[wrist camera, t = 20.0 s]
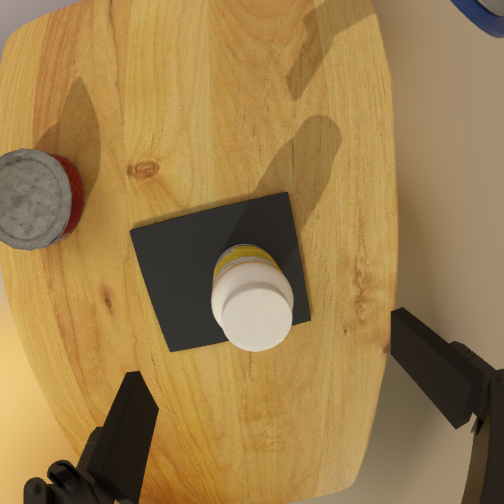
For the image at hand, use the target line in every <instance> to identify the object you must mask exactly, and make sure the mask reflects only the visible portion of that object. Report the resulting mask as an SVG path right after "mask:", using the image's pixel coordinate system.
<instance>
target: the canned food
mask: <svg viewBox="0 0 504 504" xmlns="http://www.w3.org/2000/svg"><path fill="white" fill-rule="evenodd" d="M83 206H84V188H83V183H82V180H81V176H80V174H79V172H78V170H77V169H76V167H75V166H74V165H73V164H72V162H70V161H69V160H68V159H67V158H65V157H62V156H60V155H55V154H46V153H44V152H43V151H41V150H32V149H24V148H22V149H19V150H16V151H12V152H9V153H5V154H4V155H2V156H1V157H0V241H2V242H4V243H5V244H7V245H9V246H10V247H12V248H14V249H22V250H29V251H32V250H35V249H37V248H39V249H40V248H44V247H47V246H49V245H52V244H54V243H56V242H60V241H62V240H64V239H65V238H67V237H68V236H69V235H70V234H71V233H72V232H73V231H74V229H75V228H76V226H77V225H78V223H79V221H80V218H81V215H82V212H83Z"/></svg>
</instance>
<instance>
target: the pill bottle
mask: <svg viewBox="0 0 504 504" xmlns="http://www.w3.org/2000/svg"><path fill="white" fill-rule="evenodd" d="M211 304H212V311H213V314H214V317H215V319H216V321H217V322H218V324H219V325H220V326H221V328H222V329H223V331H224V333H225V335H226V337H227V338H228V339H229V341H230V342H231V343H233V344H234V345H235V346H237V347H239V348H241V349H244V350H247V351H264V350H267V349H270V348H272V347H274V346H276V345H277V344H279V343H280V342H281V341H282V340H283V339H284V338H285V337H286V336H287V334H288V332H289V331H290V328H291V325H292V309H293V293H292V289H291V287H290V284H289V282H288V280H287V279H286V277H285V276H284V274H283V273H282V271H281V270H280V268H279V267H278V265H277V264H276V263H275V261H274V260H273V258H272V257H271V256H270V255H269V254H268V253H267V252H266V251H265V250H264V249H262V248H260V247H258V246H255V245H251V244H240V245H236V246H233V247H231V248H229V249H228V250H226V251H225V252H224V253H223V254H222V255H221V256H220V258H219V259H218V261H217V263H216V266H215V269H214V277H213V289H212V300H211Z"/></svg>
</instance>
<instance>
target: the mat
mask: <svg viewBox="0 0 504 504" xmlns="http://www.w3.org/2000/svg"><path fill="white" fill-rule="evenodd" d="M130 235H131V238H132V242H133V245H134V249H135V252H136V255H137V259H138V262H139V265H140V269H141V272H142V275H143V278H144V281H145V284H146V287H147V290H148V293H149V296H150V299H151V302H152V305H153V308H154V311H155V313H156V316H157V319H158V322H159V324H160V327H161V330H162V332H163V335H164V338H165V340H166V343H167V345H168V348H169V350H170V352H174V351H180V350H185V349H191V348H196V347H201V346H206V345H211V344H216V343H221V342H225V341H229V339H228V338H227V337H226V335H225V333H224V331H223V329H222V328H221V326H220V325H219V324H218V322H217V321H216V319H215V317H214V314H213V311H212V304H211V300H212V289H213V277H214V269H215V266H216V263H217V261H218V259H219V258H220V256H221V255H222V254H223V253H224V252H225V251H226V250H228V249H229V248H231V247H233V246H236V245H240V244H251V245H255V246H258V247H260V248H262V249H264V250H265V251H266V252H267V253H268V254H269V255H270V256H271V257H272V258H273V260H274V261H275V263H276V264H277V265H278V267H279V268H280V270H281V271H282V273H283V274H284V276H285V277H286V279H287V280H288V282H289V284H290V287H291V289H292V293H293V309H292V325H296V324H300V323H303V322H307V321H311V318H310V311H309V305H308V299H307V293H306V287H305V281H304V275H303V269H302V264H301V258H300V253H299V247H298V242H297V236H296V231H295V226H294V221H293V216H292V211H291V206H290V201H289V196H288V192H284V193H279V194H275V195H270V196H265V197H261V198H256V199H252V200H247V201H243V202H239V203H234V204H230V205H226V206H221V207H217V208H213V209H209V210H205V211H201V212H197V213H193V214H189V215H185V216H181V217H177V218H173V219H170V220H166V221H162V222H158V223H154V224H151V225H147V226H144V227H140V228H136V229H133V230H130ZM292 325H291V326H292Z"/></svg>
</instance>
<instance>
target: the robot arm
mask: <svg viewBox="0 0 504 504" xmlns="http://www.w3.org/2000/svg"><path fill="white" fill-rule="evenodd" d="M474 1H475V2H476V3H477V4H478V5H479V6H480V7H482V8H483V9H484V10H485V11H487V12H488V13H490V14H491V15H493V16H496V17H501V16H503V15H504V0H474ZM391 355H392V356H393V357H394V358H395V360H396V361H397V362H398V363H399V364H400V365H401V366H402V367H403V368H404V369H405V371H406V372H407V373H408V374H409V375H410V377H411V378H412V379H413V380H414V381H415V382H416V383H417V384H418V386H419V387H420V388H421V389H422V390H423V391H424V393H425V394H426V395H427V396H428V397H429V398H430V400H432V402H433V403H434V404H435V405H436V407H437V408H438V409H439V410H440V411H441V413H442V414H443V415H444V416H445V417H446V418H447V420H448V421H449V422H450V423H451V424H452V426H453V427H454V428H455V429H458V428H459V427H461V426H462V425H464V424H466V423H467V422H469V420H470V418H471V415H472V412H473V413H474V414H475V415H476V416H477V418H476V420H475V423H474V425H473V427H472V430H471V433H473V431H474V438H473V446H472V453H471V459H470V465H469V471H468V476H467V481H466V485H465V490H464V495H463V498H462V502H461V504H504V369H500V370H495V369H494V368H493V367H492V366H490V365H489V364H488V363H487V362H486V361H484V360H483V359H482V358H480V357H479V356H478V355H476V353H474V352H473V351H471V350H470V349H469V348H468V347H467V346H465V345H464V344H462V343H459V342H456V341H453V342H451V343H450V344H449V343H447V342H446V341H445V340H444V339H442V338H441V337H440V336H439V335H438V334H436V333H435V332H434V331H433V330H431V329H430V328H429V327H427V326H426V325H425V324H424V323H422V322H421V321H420V320H419V319H417V318H416V317H415V316H414V315H412V314H411V313H410V312H408V311H407V310H406V309H404V308H403V307H402V308H400V309H396V310H394V311H391ZM158 411H159V408H158V406H157V404H156V403H155V401H154V399H153V397H152V395H151V393H150V391H149V389H148V387H147V385H146V383H145V381H144V379H143V377H142V375H141V373H140V371H135V372H127V373H126V375H125V377H124V379H123V382H122V384H121V386H120V388H119V390H118V393H117V395H116V397H115V400H114V402H113V404H112V406H111V409H110V411H109V413H108V416H107V418H106V421H105V423H104V425H103V427H96V429H95V430H94V431H93V432H92V433H91V434H90V436H89V438H88V441H87V444H86V445H85V448H84V449H85V450H83V453H82V455H81V457H80V460H79V462H78V465H77V467H76V468H75V467H74V466H73V465H72V464H71V463H70V462H69V461H67V460H59V461H56V462H55V463H53V464H52V465H51V466H50V467H49V469H48V472H47V477H48V478H49V479H50V480H51V481H52V482H53V483H54V484H47V483H46V482H45V481H44V480H43V479H41V478H39V477H38V478H37V477H34V478H32V479H30V480H28V481H27V482H26V484H25V486H24V504H114V501H115V499H116V500H117V501H118V502H119V503H120V504H138V503H139V498H140V493H141V488H142V483H143V478H144V473H145V468H146V463H147V459H148V454H149V450H150V445H151V441H152V436H153V432H154V428H155V424H156V419H157V415H158Z"/></svg>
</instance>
